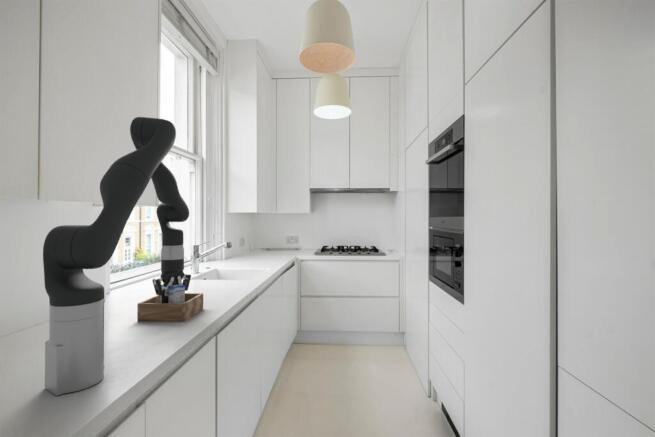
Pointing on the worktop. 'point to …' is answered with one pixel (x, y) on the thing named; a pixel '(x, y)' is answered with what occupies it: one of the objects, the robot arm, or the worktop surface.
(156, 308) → the storage box
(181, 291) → the medicine box
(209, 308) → the worktop surface
